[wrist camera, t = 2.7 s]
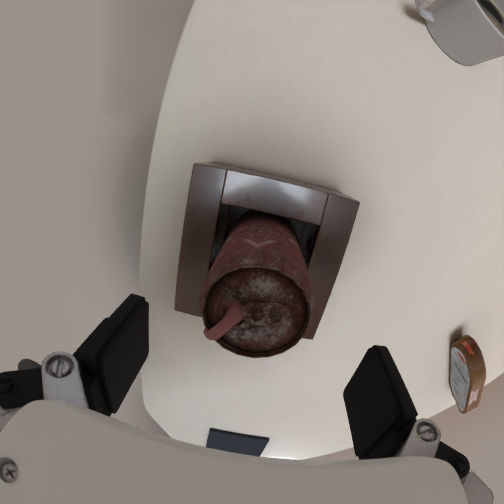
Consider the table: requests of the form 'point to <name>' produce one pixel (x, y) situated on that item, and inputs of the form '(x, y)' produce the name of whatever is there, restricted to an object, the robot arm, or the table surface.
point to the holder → (269, 201)
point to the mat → (236, 442)
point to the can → (258, 289)
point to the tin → (466, 373)
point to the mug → (466, 28)
